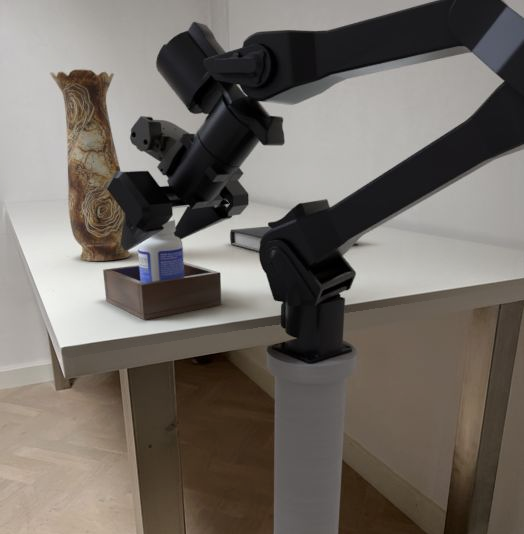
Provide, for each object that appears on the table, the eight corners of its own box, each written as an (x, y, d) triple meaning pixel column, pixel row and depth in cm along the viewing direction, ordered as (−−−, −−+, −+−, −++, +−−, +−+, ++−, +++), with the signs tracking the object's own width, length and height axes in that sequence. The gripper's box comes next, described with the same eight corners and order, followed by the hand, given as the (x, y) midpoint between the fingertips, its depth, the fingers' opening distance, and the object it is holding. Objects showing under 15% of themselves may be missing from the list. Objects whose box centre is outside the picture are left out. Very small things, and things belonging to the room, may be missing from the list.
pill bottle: (189, 293, 72) (186, 217, 68) (179, 304, 67) (175, 222, 63) (148, 292, 72) (143, 216, 69) (136, 303, 67) (129, 222, 64)
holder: (221, 304, 69) (220, 272, 68) (144, 320, 63) (141, 284, 61) (178, 289, 77) (176, 259, 75) (106, 301, 71) (102, 269, 69)
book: (313, 235, 124) (313, 222, 123) (358, 244, 112) (359, 229, 111) (229, 244, 113) (229, 229, 112) (270, 255, 101) (270, 238, 100)
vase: (112, 264, 93) (93, 66, 83) (60, 260, 97) (35, 69, 87) (144, 253, 103) (130, 74, 93) (95, 250, 106) (77, 77, 96)
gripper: (227, 97, 67) (164, 188, 76) (111, 82, 52) (50, 198, 62) (282, 166, 66) (211, 251, 75) (179, 171, 51) (106, 276, 60)
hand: (150, 242), depth 68 cm, fingers open, 9 cm apart
